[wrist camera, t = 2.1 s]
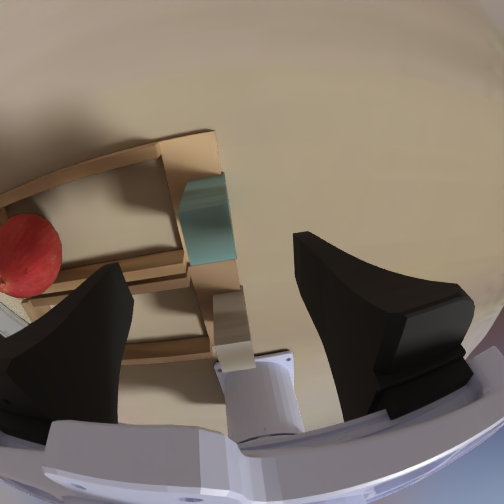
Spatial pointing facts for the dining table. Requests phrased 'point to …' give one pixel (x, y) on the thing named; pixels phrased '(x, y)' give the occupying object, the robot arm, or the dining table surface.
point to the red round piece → (28, 255)
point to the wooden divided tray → (183, 200)
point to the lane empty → (212, 308)
